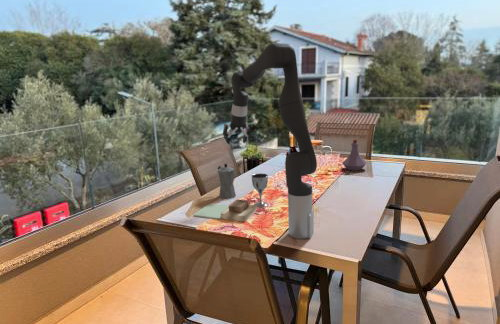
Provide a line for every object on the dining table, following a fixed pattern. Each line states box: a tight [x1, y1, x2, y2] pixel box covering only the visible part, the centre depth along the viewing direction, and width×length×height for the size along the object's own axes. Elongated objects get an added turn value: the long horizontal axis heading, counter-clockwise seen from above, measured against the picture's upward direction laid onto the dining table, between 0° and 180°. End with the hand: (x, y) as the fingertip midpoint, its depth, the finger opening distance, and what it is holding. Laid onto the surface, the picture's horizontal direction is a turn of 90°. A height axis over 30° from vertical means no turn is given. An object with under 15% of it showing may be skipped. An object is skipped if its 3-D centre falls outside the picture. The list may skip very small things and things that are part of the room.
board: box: [220, 204, 258, 222], centre depth 155 cm, size 12×14×2 cm
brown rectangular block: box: [228, 199, 250, 213], centre depth 155 cm, size 6×9×3 cm, turn 158°
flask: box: [341, 139, 368, 172], centre depth 223 cm, size 16×16×20 cm
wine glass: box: [251, 173, 269, 208], centre depth 165 cm, size 8×8×15 cm
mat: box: [192, 203, 230, 220], centre depth 160 cm, size 14×16×1 cm
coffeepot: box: [217, 163, 237, 200], centre depth 181 cm, size 15×9×18 cm, turn 33°
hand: (236, 142), depth 171 cm, fingers open, 8 cm apart
